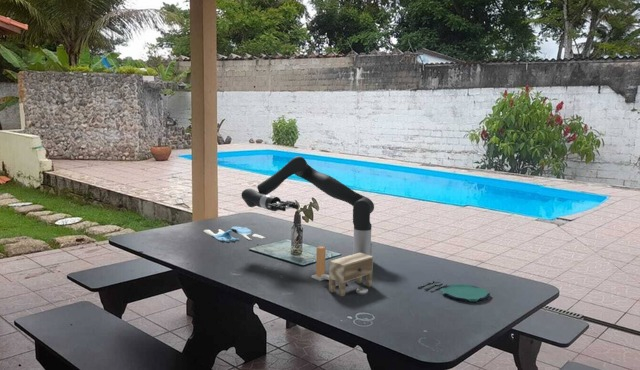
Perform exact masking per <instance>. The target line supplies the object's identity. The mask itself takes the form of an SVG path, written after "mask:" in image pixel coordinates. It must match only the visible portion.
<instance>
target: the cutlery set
mask: <svg viewBox="0 0 640 370" xmlns="http://www.w3.org/2000/svg"><path fill="white" fill-rule="evenodd" d="M431 281H432V280H431ZM431 281H427V283H425V284H423V285H422V284H421V285H419V286H417V289H421V288H423V290H425V291H426V290H428V289H431V288H433V287H435V288H434V289H432V290H430V291H429V292H430V293H432V292H434V291H437V290H439V288H440V289H441V290H440V293H441V294H443V295H444V294H445V296H448V297H451V298H453V299H457V300H463V301H469V302H470V303H471V302H473V303H475V302H478V301H482V300H484V299H487V298H488V297H489V296H490V295H491V293H490V292H489V291H488V290H487V289H486V288H483V287H482V288H481V287H478V286H476V285H469V284H466V283H465V284H464V283H452V284H450V285H448V283H445V284H443V282H441V281H436V282H435V281H434V283H436V284H439V286H435V285H436V284H434V283H433V281H432V282H431ZM440 283H441V284H440ZM432 284H433V285H432ZM442 284H443V285H442ZM425 285H426V286H427V287H426V286H425ZM428 285H429V286H428ZM423 286H424V287H423ZM441 287H442V288H441Z"/></svg>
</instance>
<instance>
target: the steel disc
mask: <svg viewBox="0 0 640 370" xmlns="http://www.w3.org/2000/svg"><path fill="white" fill-rule="evenodd" d="M355 291H356V292H355V293H356V294H357V295H360V294H361V296H366V295H368V294H369V289H368V288H367V287H362V286H361V287H357V288H356V290H355ZM365 294H366V295H365Z"/></svg>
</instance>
